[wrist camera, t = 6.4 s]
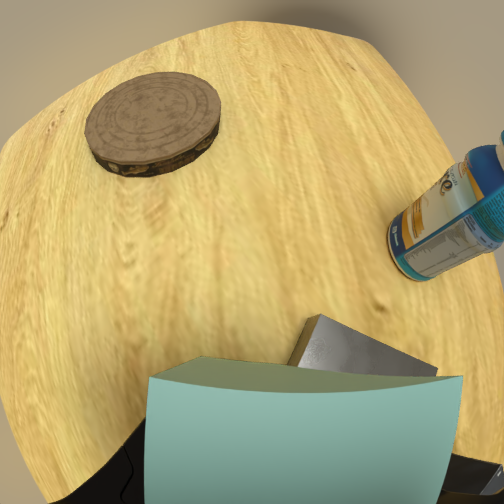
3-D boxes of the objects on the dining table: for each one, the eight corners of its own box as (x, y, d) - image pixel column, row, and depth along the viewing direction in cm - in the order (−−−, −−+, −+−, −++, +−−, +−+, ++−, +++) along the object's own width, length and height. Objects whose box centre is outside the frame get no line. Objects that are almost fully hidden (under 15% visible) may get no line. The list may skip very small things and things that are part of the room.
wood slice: (247, 130, 30) (251, 111, 27) (131, 207, 25) (123, 191, 22) (172, 76, 33) (171, 60, 30) (74, 131, 27) (67, 115, 24)
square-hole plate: (345, 516, 16) (358, 528, 13) (217, 490, 17) (218, 506, 14) (419, 368, 23) (437, 368, 20) (307, 318, 23) (320, 313, 20)
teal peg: (270, 433, 13) (402, 570, 1) (194, 427, 13) (156, 598, 1) (277, 363, 15) (462, 375, 3) (201, 356, 15) (148, 376, 3)
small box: (401, 487, 18) (462, 516, 8) (438, 447, 20) (504, 460, 10) (424, 517, 15) (474, 540, 6) (456, 483, 17) (509, 496, 8)
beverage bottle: (405, 295, 25) (570, 213, 7) (372, 224, 28) (501, 95, 9) (446, 269, 27) (574, 194, 9) (417, 208, 30) (525, 108, 11)
